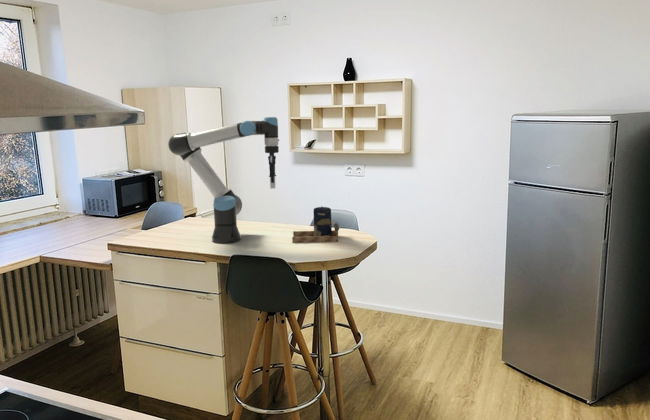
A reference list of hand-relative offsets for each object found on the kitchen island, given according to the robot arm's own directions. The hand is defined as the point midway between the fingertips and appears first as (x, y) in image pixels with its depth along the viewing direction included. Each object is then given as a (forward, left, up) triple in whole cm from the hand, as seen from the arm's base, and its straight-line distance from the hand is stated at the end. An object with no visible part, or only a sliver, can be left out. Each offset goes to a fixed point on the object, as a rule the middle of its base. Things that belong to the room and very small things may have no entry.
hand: (272, 188), depth 291 cm
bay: (+23, -14, -26) cm, 38 cm away
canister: (+27, -14, -27) cm, 40 cm away
